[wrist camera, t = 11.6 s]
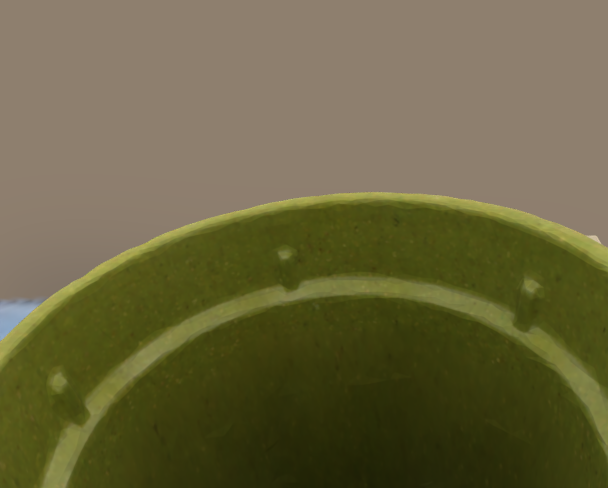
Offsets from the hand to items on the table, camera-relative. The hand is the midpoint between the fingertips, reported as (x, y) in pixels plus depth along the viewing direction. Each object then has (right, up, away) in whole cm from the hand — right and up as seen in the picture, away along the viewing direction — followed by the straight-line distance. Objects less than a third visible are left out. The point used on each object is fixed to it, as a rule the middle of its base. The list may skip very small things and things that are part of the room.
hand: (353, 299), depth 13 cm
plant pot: (0, -8, -1) cm, 8 cm away
